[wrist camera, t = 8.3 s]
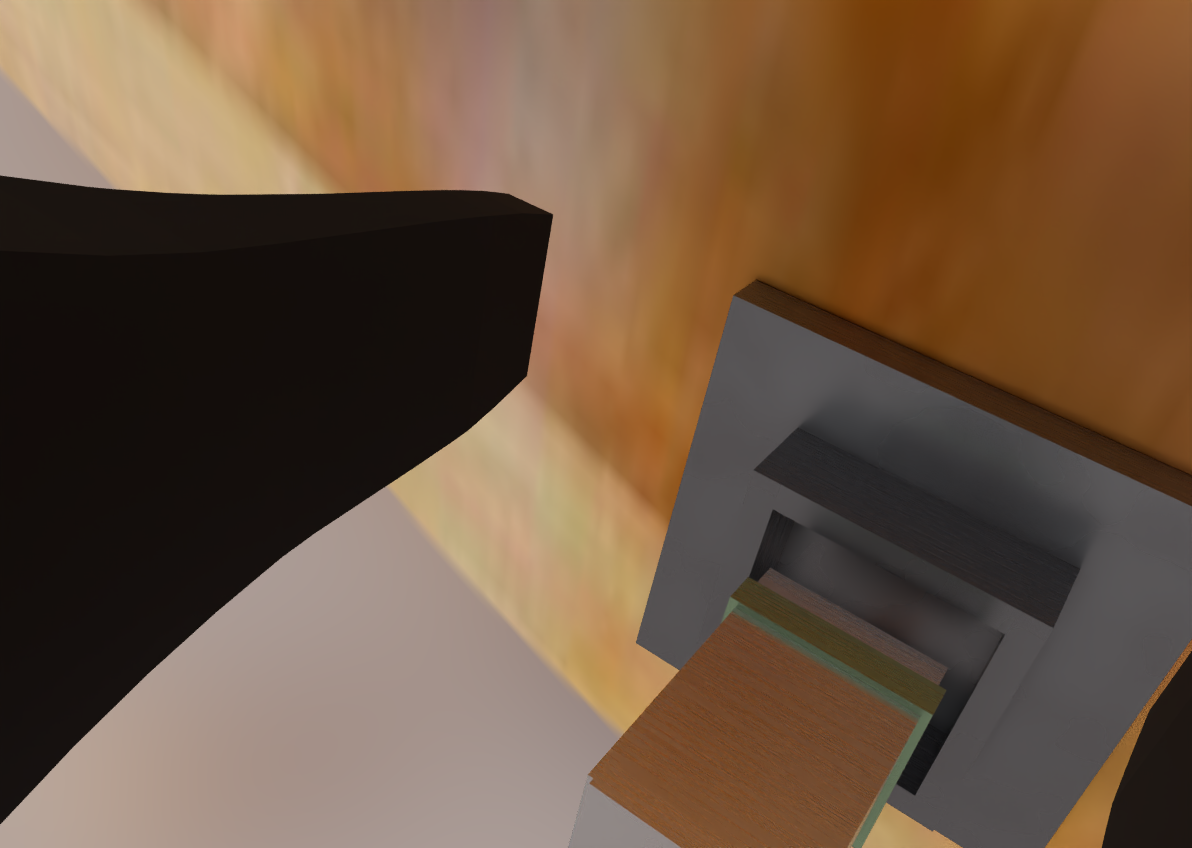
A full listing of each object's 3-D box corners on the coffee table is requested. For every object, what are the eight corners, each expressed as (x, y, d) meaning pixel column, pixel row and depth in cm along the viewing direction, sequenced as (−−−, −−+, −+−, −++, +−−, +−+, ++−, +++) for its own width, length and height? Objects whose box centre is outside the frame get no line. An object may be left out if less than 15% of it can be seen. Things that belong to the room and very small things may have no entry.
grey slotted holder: (1268, 510, 18) (1228, 692, 14) (1031, 850, 24) (957, 1046, 20) (755, 279, 22) (616, 374, 18) (656, 621, 28) (533, 748, 24)
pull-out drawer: (968, 650, 18) (810, 937, 13) (879, 813, 21) (722, 1102, 16) (771, 541, 20) (565, 767, 15) (712, 707, 22) (521, 943, 18)
